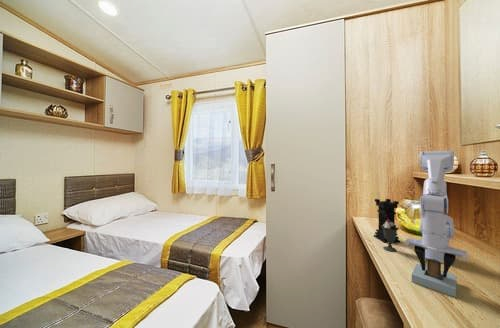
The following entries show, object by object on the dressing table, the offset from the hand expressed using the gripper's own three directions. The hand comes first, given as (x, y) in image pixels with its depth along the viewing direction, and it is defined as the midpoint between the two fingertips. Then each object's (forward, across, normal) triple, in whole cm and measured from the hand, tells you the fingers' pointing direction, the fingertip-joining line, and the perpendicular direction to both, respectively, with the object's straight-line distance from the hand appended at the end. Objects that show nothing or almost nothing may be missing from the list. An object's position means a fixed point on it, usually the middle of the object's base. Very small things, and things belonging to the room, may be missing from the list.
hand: (434, 272), depth 63 cm
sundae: (+3, -16, +18) cm, 24 cm away
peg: (+3, 0, 0) cm, 3 cm away
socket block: (+3, 0, 0) cm, 3 cm away
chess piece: (+3, -20, +30) cm, 36 cm away
